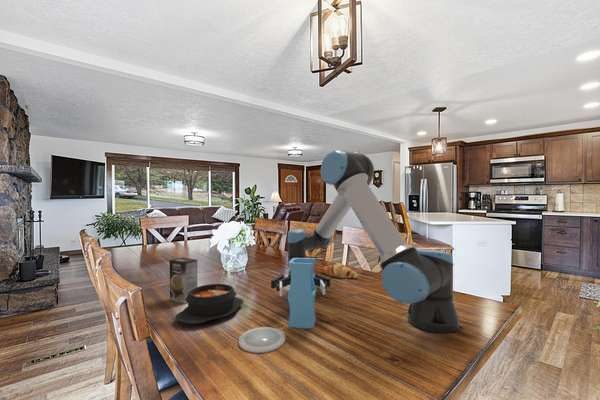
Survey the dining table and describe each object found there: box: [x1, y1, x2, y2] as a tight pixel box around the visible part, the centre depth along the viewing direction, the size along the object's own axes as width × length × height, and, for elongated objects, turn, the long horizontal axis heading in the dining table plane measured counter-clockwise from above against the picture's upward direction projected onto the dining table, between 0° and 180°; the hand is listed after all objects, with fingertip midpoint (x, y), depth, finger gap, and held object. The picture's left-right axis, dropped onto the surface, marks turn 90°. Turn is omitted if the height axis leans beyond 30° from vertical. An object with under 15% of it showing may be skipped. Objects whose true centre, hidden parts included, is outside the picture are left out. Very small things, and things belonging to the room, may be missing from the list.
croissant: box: [320, 262, 359, 279], centre depth 146 cm, size 21×10×8 cm, turn 56°
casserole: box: [174, 283, 244, 325], centre depth 99 cm, size 25×19×8 cm
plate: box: [238, 326, 286, 354], centre depth 80 cm, size 13×13×1 cm
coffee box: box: [169, 257, 198, 305], centre depth 113 cm, size 9×6×16 cm
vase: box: [287, 257, 317, 329], centre depth 92 cm, size 8×8×20 cm
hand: (302, 291), depth 89 cm, fingers open, 13 cm apart
